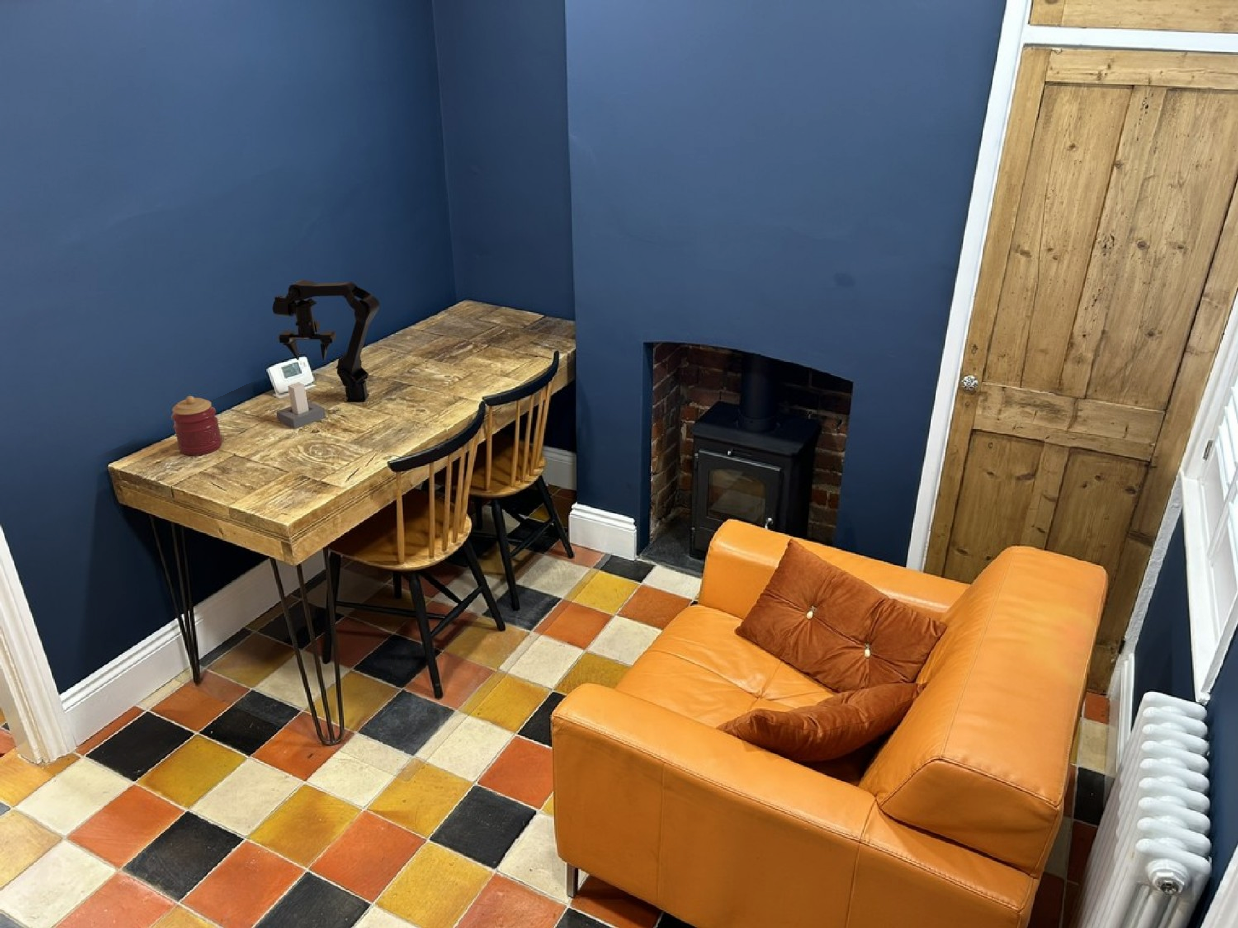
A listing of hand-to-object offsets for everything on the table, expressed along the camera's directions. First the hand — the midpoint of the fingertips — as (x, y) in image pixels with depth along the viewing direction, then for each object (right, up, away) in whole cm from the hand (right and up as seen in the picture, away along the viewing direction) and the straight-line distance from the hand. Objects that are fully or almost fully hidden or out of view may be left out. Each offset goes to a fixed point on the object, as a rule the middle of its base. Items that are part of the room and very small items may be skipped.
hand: (311, 359), depth 332 cm
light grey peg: (+1, -22, -14) cm, 26 cm away
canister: (-24, -32, -32) cm, 51 cm away
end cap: (+1, -22, -14) cm, 26 cm away
